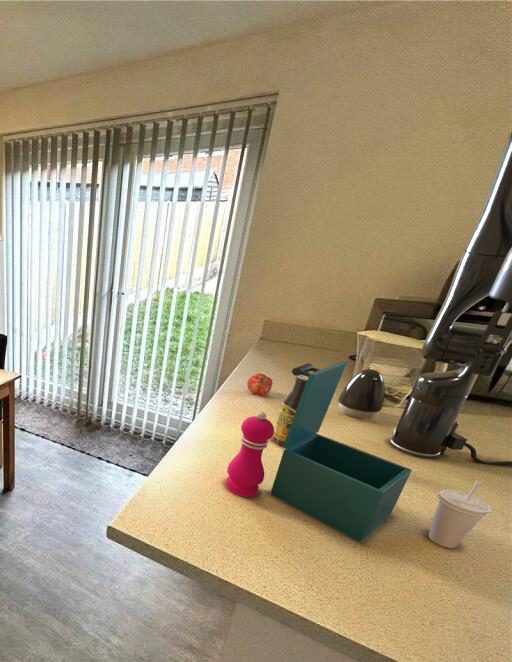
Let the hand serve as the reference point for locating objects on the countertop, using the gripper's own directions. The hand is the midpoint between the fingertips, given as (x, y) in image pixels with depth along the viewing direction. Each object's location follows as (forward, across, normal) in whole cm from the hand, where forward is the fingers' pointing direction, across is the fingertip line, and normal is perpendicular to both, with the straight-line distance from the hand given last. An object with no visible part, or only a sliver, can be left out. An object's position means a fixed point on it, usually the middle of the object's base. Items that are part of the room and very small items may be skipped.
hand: (489, 369), depth 65 cm
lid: (+13, -6, +19) cm, 24 cm away
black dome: (+34, +48, +28) cm, 65 cm away
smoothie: (+34, +1, -4) cm, 35 cm away
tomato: (+34, +39, +53) cm, 74 cm away
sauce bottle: (+34, +13, +30) cm, 47 cm away
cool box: (+34, -6, +12) cm, 37 cm away
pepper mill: (+34, -17, +24) cm, 45 cm away
